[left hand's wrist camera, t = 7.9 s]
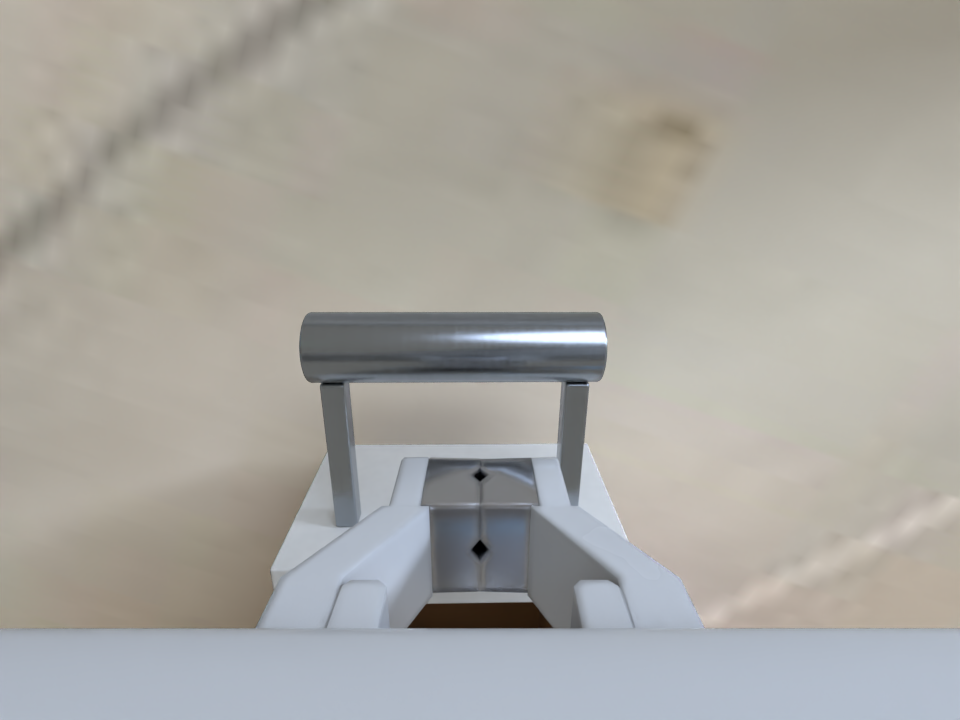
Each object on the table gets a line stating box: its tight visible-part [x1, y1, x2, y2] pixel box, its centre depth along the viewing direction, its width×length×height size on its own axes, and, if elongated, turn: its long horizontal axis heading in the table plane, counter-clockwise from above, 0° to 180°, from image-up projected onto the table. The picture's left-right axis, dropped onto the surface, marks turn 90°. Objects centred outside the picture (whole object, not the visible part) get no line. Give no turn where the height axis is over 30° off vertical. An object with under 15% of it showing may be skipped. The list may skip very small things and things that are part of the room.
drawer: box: [270, 312, 629, 628], centre depth 17 cm, size 21×9×6 cm, turn 0°
